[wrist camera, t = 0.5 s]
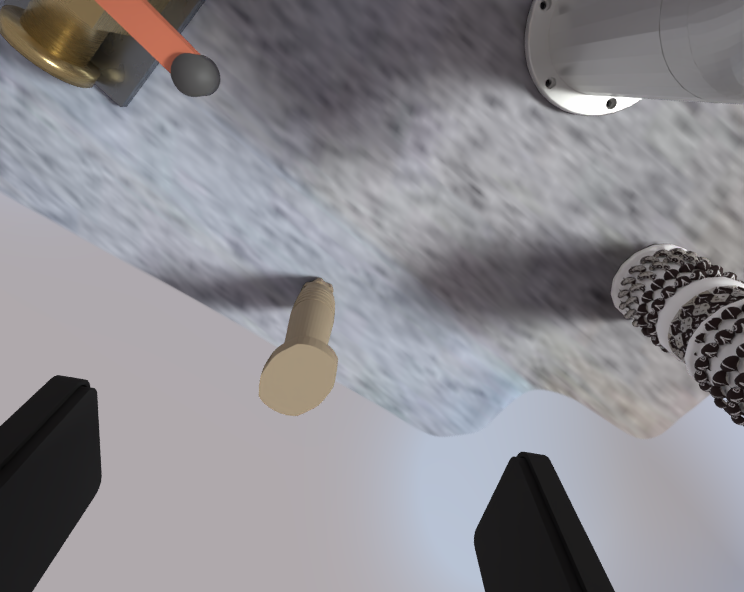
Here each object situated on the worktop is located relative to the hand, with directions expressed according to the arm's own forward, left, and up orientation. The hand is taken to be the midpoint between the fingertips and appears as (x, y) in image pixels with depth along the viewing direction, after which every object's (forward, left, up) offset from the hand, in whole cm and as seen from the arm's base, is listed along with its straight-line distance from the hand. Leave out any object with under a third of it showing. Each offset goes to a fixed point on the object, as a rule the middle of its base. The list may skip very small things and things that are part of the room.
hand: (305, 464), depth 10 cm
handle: (+10, +6, -33) cm, 35 cm away
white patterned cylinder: (-15, +29, -33) cm, 46 cm away
